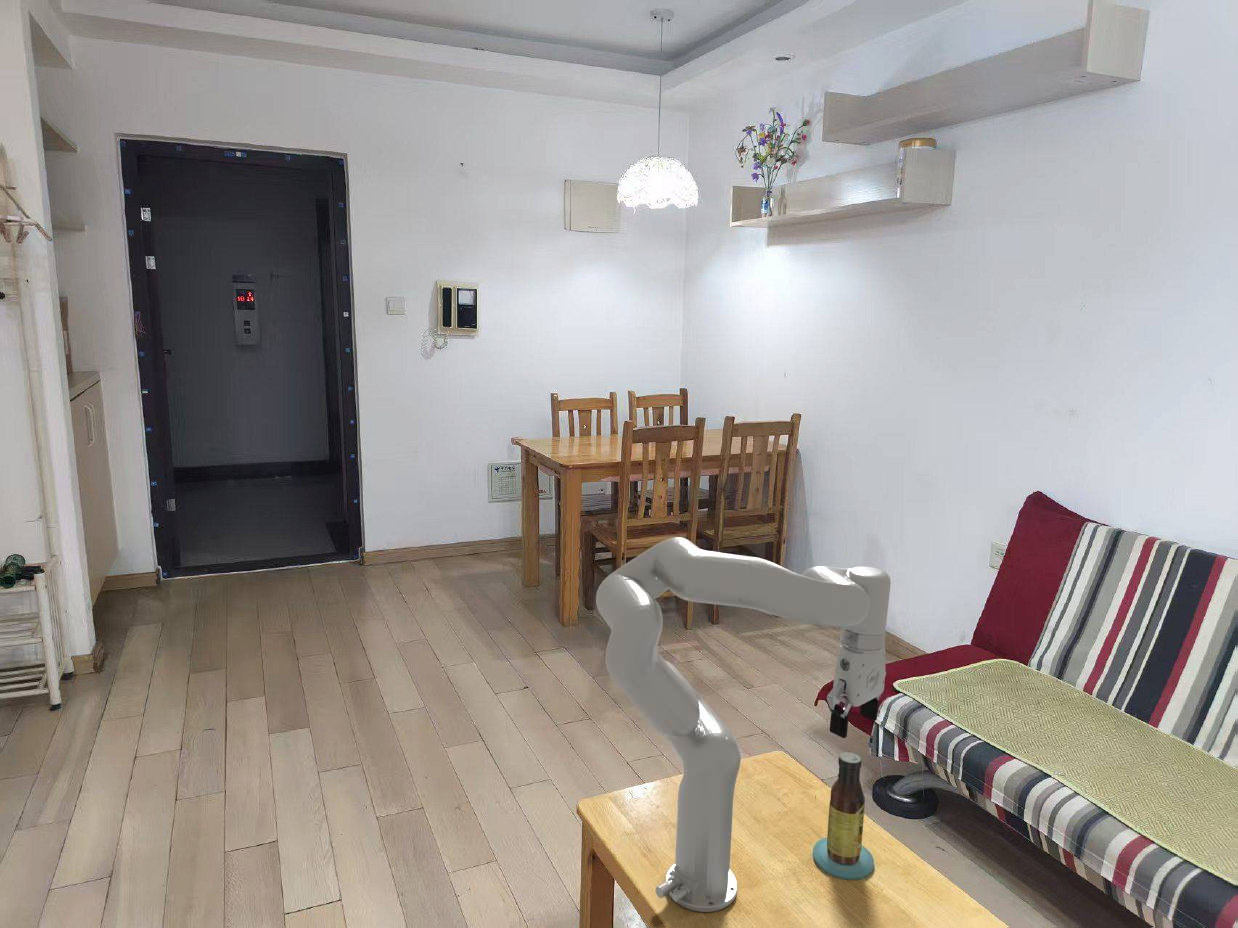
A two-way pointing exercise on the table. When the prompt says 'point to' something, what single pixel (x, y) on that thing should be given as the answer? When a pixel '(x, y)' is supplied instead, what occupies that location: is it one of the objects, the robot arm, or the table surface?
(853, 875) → the coaster
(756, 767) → the table surface
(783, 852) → the table surface
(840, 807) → the sauce bottle
